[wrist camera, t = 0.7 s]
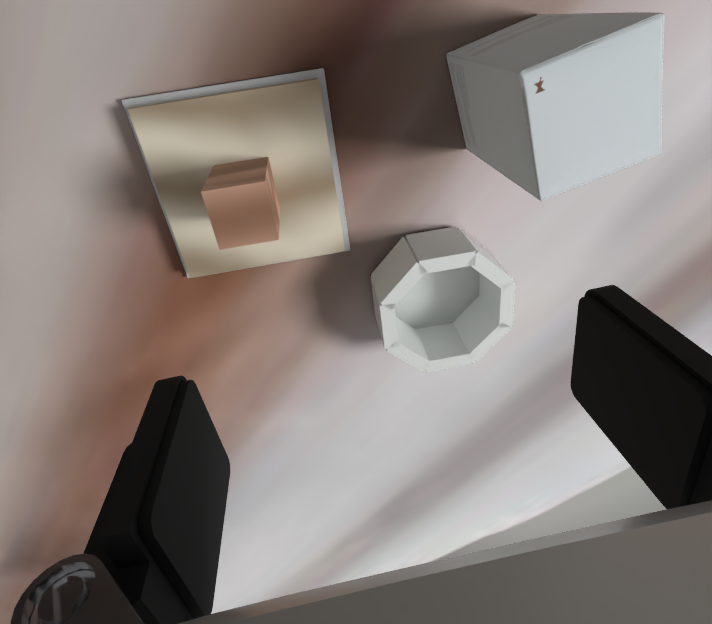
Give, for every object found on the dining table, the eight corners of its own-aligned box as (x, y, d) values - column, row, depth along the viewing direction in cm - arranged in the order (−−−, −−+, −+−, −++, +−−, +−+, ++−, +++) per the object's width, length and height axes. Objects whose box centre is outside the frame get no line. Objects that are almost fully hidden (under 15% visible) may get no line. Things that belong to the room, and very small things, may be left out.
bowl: (365, 239, 40) (375, 268, 35) (492, 217, 40) (518, 243, 36) (378, 342, 46) (388, 378, 41) (488, 323, 46) (510, 356, 42)
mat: (122, 99, 32) (121, 100, 32) (323, 67, 32) (323, 68, 32) (188, 276, 40) (187, 278, 39) (349, 248, 40) (350, 250, 40)
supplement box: (464, 151, 37) (536, 206, 26) (443, 51, 33) (517, 68, 22) (554, 116, 36) (664, 157, 26) (544, 10, 32) (669, 7, 22)
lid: (131, 106, 32) (96, 127, 26) (317, 77, 32) (324, 90, 27) (191, 272, 39) (174, 317, 33) (343, 246, 39) (353, 286, 34)
